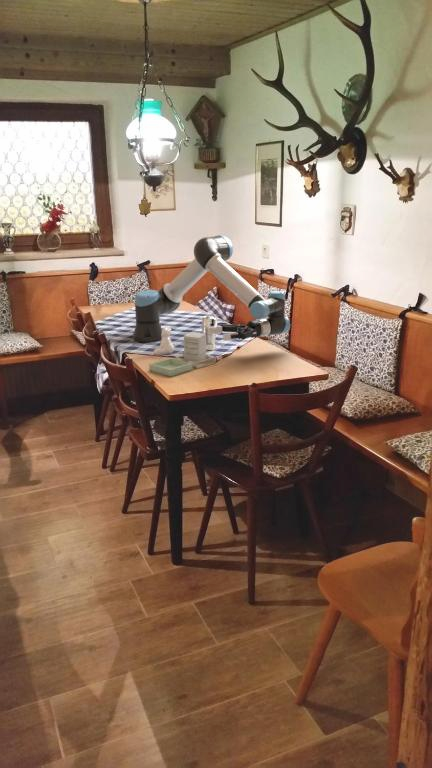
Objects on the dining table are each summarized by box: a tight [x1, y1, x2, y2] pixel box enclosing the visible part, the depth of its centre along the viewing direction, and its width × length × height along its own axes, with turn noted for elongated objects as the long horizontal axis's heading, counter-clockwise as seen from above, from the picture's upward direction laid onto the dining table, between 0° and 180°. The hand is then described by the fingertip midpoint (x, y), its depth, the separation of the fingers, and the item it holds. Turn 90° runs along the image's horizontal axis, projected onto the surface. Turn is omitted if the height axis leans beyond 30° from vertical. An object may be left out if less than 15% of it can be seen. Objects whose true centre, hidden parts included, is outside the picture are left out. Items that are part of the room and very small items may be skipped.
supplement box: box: [183, 331, 207, 363], centre depth 255 cm, size 7×7×13 cm
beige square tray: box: [174, 354, 217, 370], centre depth 257 cm, size 13×13×2 cm
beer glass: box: [201, 315, 218, 351], centre depth 277 cm, size 7×7×15 cm
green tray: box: [148, 357, 194, 378], centre depth 247 cm, size 13×13×3 cm
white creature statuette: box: [153, 326, 175, 356], centre depth 272 cm, size 10×9×12 cm
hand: (215, 334), depth 258 cm, fingers open, 13 cm apart
